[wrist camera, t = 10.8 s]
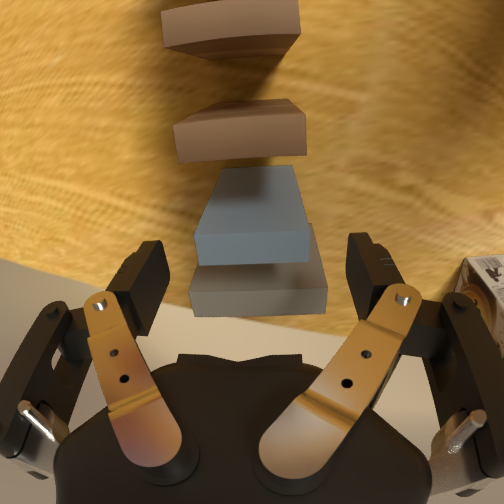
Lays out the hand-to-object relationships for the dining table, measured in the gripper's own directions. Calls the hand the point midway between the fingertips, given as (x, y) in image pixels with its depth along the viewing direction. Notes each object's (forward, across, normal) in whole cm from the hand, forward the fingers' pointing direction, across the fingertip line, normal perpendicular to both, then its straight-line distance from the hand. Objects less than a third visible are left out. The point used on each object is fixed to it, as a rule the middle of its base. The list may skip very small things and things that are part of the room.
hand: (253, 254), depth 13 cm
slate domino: (+11, 0, 0) cm, 11 cm away
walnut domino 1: (+11, 0, -10) cm, 14 cm away
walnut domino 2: (+11, 0, -5) cm, 12 cm away
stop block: (+10, 0, +5) cm, 12 cm away
